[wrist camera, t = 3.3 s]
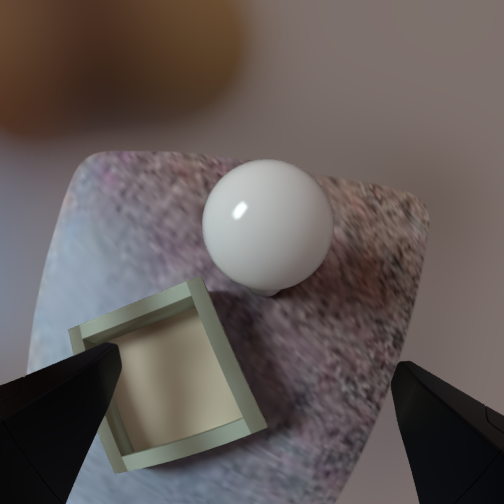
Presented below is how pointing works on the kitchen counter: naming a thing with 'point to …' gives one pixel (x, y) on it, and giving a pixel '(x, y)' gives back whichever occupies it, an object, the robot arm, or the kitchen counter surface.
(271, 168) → the lightbulb
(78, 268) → the kitchen counter surface
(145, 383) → the open box
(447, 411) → the robot arm
